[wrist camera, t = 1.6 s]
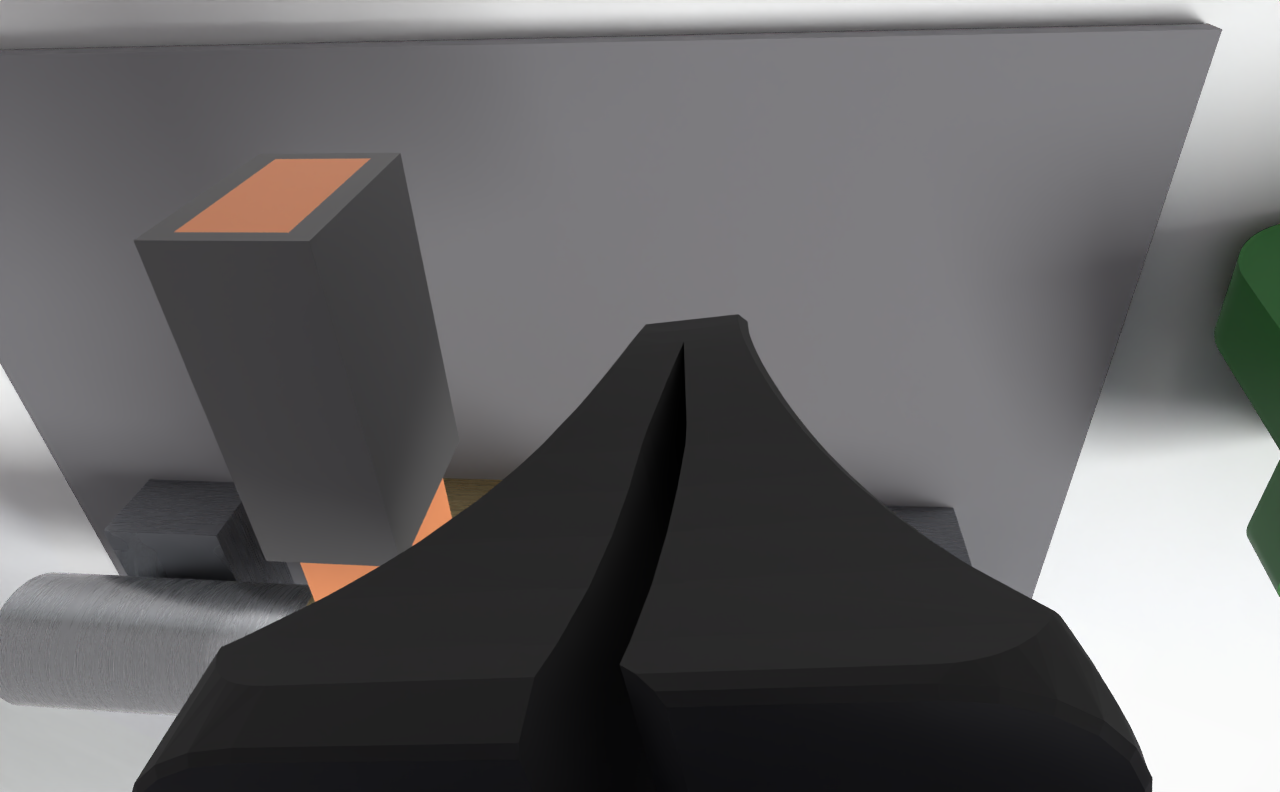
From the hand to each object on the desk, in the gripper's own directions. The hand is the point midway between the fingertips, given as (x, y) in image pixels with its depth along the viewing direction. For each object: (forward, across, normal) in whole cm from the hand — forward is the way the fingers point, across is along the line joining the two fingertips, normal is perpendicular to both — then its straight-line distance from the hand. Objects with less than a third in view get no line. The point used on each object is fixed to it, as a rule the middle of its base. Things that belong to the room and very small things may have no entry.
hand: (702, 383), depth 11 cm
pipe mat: (+7, +5, +5) cm, 10 cm away
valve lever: (+1, +5, +3) cm, 6 cm away
